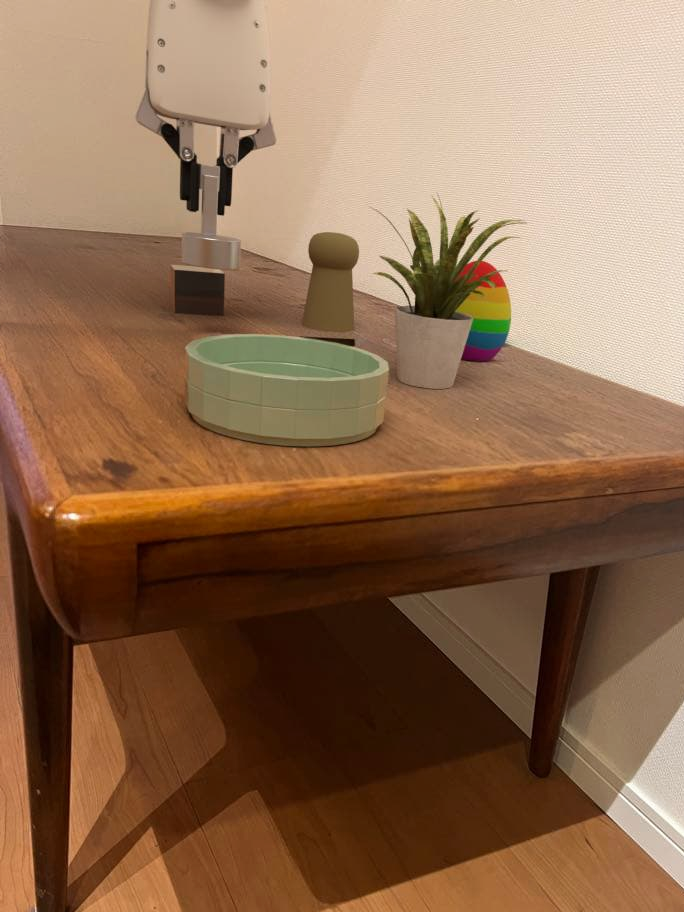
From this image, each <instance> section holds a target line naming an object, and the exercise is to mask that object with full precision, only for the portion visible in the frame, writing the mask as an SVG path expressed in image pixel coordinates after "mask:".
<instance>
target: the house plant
mask: <svg viewBox="0 0 684 912" xmlns="http://www.w3.org/2000/svg"><path fill="white" fill-rule="evenodd" d="M436 195H437V197H438V200H439V203H440V204H439V203H438V201H437V199H435V197H434V196H433V194H431V198H432V199H433V202H434V204H435V206H436V209H437V211H438V214H439V221H440V222H439V223H440V224H439V226H440V244H439V259H438V260H436V261H435V263H434V254H433V247H432V243H431V238H430V234H429V232H428V231H429V230H428V229H427V228H426V226H425V225H424V223H423V222H422V221H421V220H420V218H419V216H418V215H417V214H416V213H415V212H414V211H411V210H410V209H408V208H406V210H407V213H408V215H409V218H408V222H409V228H410V233H411V237H412V241H413V243H414V246H415V248H414V251H413V253H411V251H410V248H409V247H408V245H407V243H406V242H405V239H404V238H403V236H402V235H401V234H400V233H399V231H398V230H397V228H396V227H395V226H394V224H393V223H392V222H391V220H389V219H388V217H386V215H384V214H383V213H382V212H381V211H379V210H377V209H375V208H373V207H371V206H368V204H367V205H366V206H367V207H368V208H371V209H372V210H373V211H376V212H377V213H378V214H380V215H381V216H382V217H383V218H385V219H386V220H387V222H388V223H389V224H390V225H391V226H392V227H393V229H394V230H395V232H396V234H398V236H399V237H400V239H401V240H402V242H403V244H404V245H405V247H406V249H407V250H408V253H409V255H410V257H411V261H412V262H411V264H410V265H409V267H410V269H411V270H410V269H409V268H408V267H406V265H404V264H402V263H400V262H399V261H397V260H394V259H393V258H391V257H388V256H384V255H383V256H382V255H379V258H380V259H381V260H384V261H385V262H387V263H388V264H389V266H391V268H392V269H394V270H395V271H396V272H397V273H398V274H400V275H401V276H402V277H403V278H404V280H405V281H406V283H407V285H408V286H409V288H410V290H411V291H412V292H413V295H414V305H412V304H411V300H410V297H409V295H408V293H407V290H405V288H404V286H403V285H402V284H401V283H400V282H399V281H398V280H397V279H396V278H395V277H394V276H392V275H391V274H388V273H386V272H381V271H378V272H373V273H371V274H370V276H372V275H376V276H377V275H378V276H380V277H384V278H386V279H389V280H390V281H392V282H393V283H394V284H395V285H397V287H399V289H400V290H401V291H402V292H403V294H404V296H405V297H406V300H407V303H408V305H398V306H396V307H394V325H395V326H394V327H395V346H396V347H395V351H396V370H397V371H396V373H397V375H396V376H397V381H399V382H400V383H403V384H404V385H408V386H412V387H416V388H425V389H432V390H445V389H450V388H453V386H454V384H455V380H456V377H457V373H458V370H459V367H460V364H461V360H462V359H461V357H462V354H463V351H464V347H465V344H466V341H467V338H468V334H469V331H470V328H471V325H472V321H473V317H472V316H470V315H467V314H464V313H461V312H457V311H456V309H457V308H458V307H459V306H460V305H461V304H462V303H463V302H464V300H465V299H466V298H467V297H468V296H469V295H470V294H471V293H474V294H478V295H480V296H482V297H484V295H483V293H482V292H480V291H475V289H476V288H477V287H478V286H479V285H481V284H482V283H483V282H487V283H488V284H489V285H490V287H492V288H493V291H494V287H495V283H494V282H492V281H490V279H489V278H490V277H491V276H493V275H494V274H496V273H498V272H499V273H502V272H507V270H503V269H500V270H497V271H494V272H491V273H489V274H487V275H485V276H477V275H474V274H472V273H473V271H474V270H475V269H476V267H477V266H478V265H479V263H480V262H481V261H484V259H485V258H486V257H487V256H488V255H489V253H490V252H492V250H493V249H495V248H496V247H497V246H499V245H500V244H501V243H503V242H505V241H507V240H510V239H522V237H520V236H504V237H501V238H499V239H497V240H496V241H494V242H493V243H491V244H490V245H489V246H488V247H487V248H486V249H484V251H483V252H482V253H481V255H479V257H478V258H477V260H475V261H476V263H475V264H474V265H473V267H472V268H471V269H470V270H469V272H468V273H467V274H465V275H463V276H462V277H460V278H459V279H458V280H457V278H458V276H459V275H460V273H461V272H462V270H463V269H464V268H465V266H466V265H467V264H468V263H470V261H471V259H472V258H473V257H474V256H475V254H476V253H477V252H478V251H479V250H480V249H481V248H482V247H483V245H484V244H485V243H486V242H487V240H488V239H489V238H490V237H491V236H492V235H493V234H494V233H495V232H496V231H498V230H499V229H501V228H504V227H506V226H509V225H515V224H516V225H517V224H519V225H521V224H526V220H524V219H505V220H500V221H499V222H495V223H493V224H491V225H489V226H488V227H487V228H485V229H484V230H482V232H481V233H479V234H478V235H477V236H476V237H475V239H473V241H472V242H471V244H470V245H469V246H468V248H467V250H466V251H465V252H464V254H463V255H462V256H461V258H460V260H458V259H459V256H460V253H461V250H462V249H463V247H464V245H465V244H466V241H467V238H468V236H469V235H470V234H471V233H472V232H473V230H474V228H475V226H474V225H475V224H476V223H478V221H479V220H480V219H481V218H480V217H479V218H477V219H476V220H474V221H472V222H471V220H472V218H473V216H474V215H475V213H477V212H478V210H475V211H472V212H470V213H468V214H467V216H466V215H465V216H462V217H460V218H459V220H457V223H456V226H455V228H454V230H453V233H452V236H451V238H450V241H449V230H448V228H449V227H448V224H447V218H446V216H445V214H444V212H443V206H442V201H441V198H440V196H439V194H438V193H436ZM473 277H480V278H481V279H480V280H473V281H470V282H468V283H466V282H467V281H468V280H469V279H471V278H473ZM456 280H457V281H456ZM455 281H456V282H455ZM465 283H466V284H465ZM468 289H469V290H468ZM467 290H468V291H467ZM484 299H485V297H484ZM485 300H486V299H485Z"/></svg>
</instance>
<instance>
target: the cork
mask: <svg viewBox="0 0 684 912" xmlns="http://www.w3.org/2000/svg"><path fill="white" fill-rule="evenodd" d="M307 253H308V257H309V260H310V262H311V263H312V268H311V273H310V279H309V284H308V290H307V293H306V294H307V295H306V299H305V305H304V310H303V315H302V320H301V326H303V327H304V328H307V329H310V330H315V331H321V332H330V333H350V332H354V331H355V314H354V313H355V310H354V285H353V281H354V279H353V270H354V268H355V266H356V265H357V264H358V261H359V257H360V248H359V244H358V242H357V240H356V239H355V238H354V237H352V236H349V235H347V234H344V233H341V232H334V231H333V232H332V231H325V232H323V231H322V232H317V233H315V234H313V235H312V236H311V238H310V240H309V243H308V251H307ZM298 337H302V338H310V339H317V340H323V341H329V342H335V343H339V344H343V345H347V346H351V347H356V339H355V338H343V337H323V336H322V337H321V336H301V335H300V336H298Z"/></svg>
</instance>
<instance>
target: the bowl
mask: <svg viewBox="0 0 684 912" xmlns="http://www.w3.org/2000/svg"><path fill="white" fill-rule="evenodd" d="M389 373H390V367H389V362H388V361H387V360H385V359H384V358H383V357H381V356H379V355H378V354H375V353H373V352H370V351H367V350H365V349H362V348H359V347H356V346H353V347H351V346H347V345H343V344H339V343H335V342H329V341H323V340H317V339H310V338H302V337H299V336H293V335H292V336H291V335H282V334H264V333H263V334H262V333H236V334H233V333H232V334H231V333H229V334H222V335H213V336H204V337H201V338H198V339H194V340H191V341H189V343H187V344H186V345H185V347H184V404H185V406H186V408H187V411H188V413H189V414H190V416H191V417H192V419H193V420H194V421H195V422H196V423H197V424H198V425H200V426H202V427H204V428H205V429H207V430H210V431H212V432H214V433H217V434H220V435H223V436H226V437H230V438H234V439H237V440H241V441H248V442H251V443H257V444H264V445H273V446H284V447H330V446H340V445H344V444H345V445H346V444H351V443H356V442H358V441H362V440H364V439H367V438H369V437H370V436H372V435H374V434H375V433H376V432H377V431H378V428H379V427H380V426H381V425H382V424H383V423H384V420H385V419H384V418H385V410H386V400H387V392H388V384H389V383H388V382H389Z"/></svg>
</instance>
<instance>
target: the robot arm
mask: <svg viewBox="0 0 684 912" xmlns="http://www.w3.org/2000/svg"><path fill="white" fill-rule="evenodd" d="M268 15H269V14H268V7H267V0H149V8H148V18H147V30H146V31H147V32H146V47H145V48H146V49H145V71H144V72H145V73H144V74H145V77H144V79H145V80H144V81H145V82H144V83H145V84H144V87H145V88H144V92H143V94H142V98H141V100H140V103H139V105H138V108H137V110H136V113H135V115H134V116H135V117H134V118H135V121H136V123H137V124H139V126H142V127H144V128H146V129H147V130H149V131H151V132H152V133H154V134H156V135H158V136H160V137H161V138H162V139H163V140H164V141H165V142H166V144H167V145H168V147H169V148H170V149H171V151H172V152H174V154H175V155H176V156H177V158H178V159H179V163H180V165H179V199H180V201H186V210H187V211H189V212H191V213H197V212H199V211H200V189H199V169H200V167H199V165H198V164H199V162H198V156H197V154H196V152H195V124H200V125H205V126H210V127H217V128H220V132H219V133H220V134H219V136H220V137H219V150H218V151H219V152H218V157H217V158H216V162H215V165H214V166H219V167H220V180H219V192H218V204H217V216H222V217H223V216H225V211H226V210H225V209H226V207H231V206H232V197H233V196H232V195H233V176H234V175H233V174H234V173H233V172H234V168H235V167H236V166H237V165H238V164H239V163H240V162H241V161H242V160H243V159H244V158H245V157H247V155H249V154H250V153H251V152H252V151H256V150H260V149H265V148H268V147H272V146H274V145H276V143H277V135H276V131H275V128H274V124H273V120H272V117H271V113H270V112H271V111H270V110H271V88H272V87H271V80H272V79H271V77H272V76H271V75H272V74H271V44H270V43H271V41H270V40H271V39H270V27H269V24H270V23H269V16H268ZM161 117H163V118H166V119H170V120H175V126H174V125H173V124H171V123H169V122H167V121H166V120H165V119H163V118H161ZM255 130H256V131H255ZM241 131H255V132H254V133H253V134H248V135H244V136H240V133H241Z"/></svg>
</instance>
